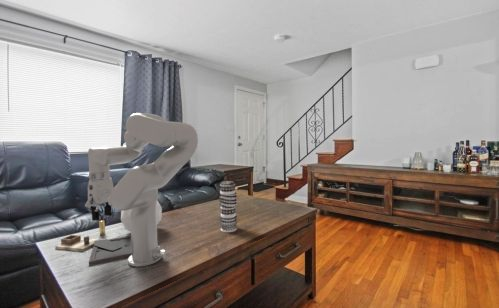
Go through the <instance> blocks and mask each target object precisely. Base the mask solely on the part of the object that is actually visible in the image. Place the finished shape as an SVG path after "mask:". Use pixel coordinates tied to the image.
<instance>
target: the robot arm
mask: <svg viewBox="0 0 499 308" xmlns="http://www.w3.org/2000/svg"><path fill="white" fill-rule="evenodd" d="M125 130H126V131H125V132H124V134H123V140H124V143H125V145H121V146H101V147H100V146H97V147H95V146H94V147H90V148H89V149H88V150H87V156H88V172H89V174H88V176H87V177H88V179H89V180H88V186H87V201H86V202H85V204H84V206H85V207H86V208H87V209H89V211H90V212H91V220H92V221H95V222H97V221H98V222H99V221H101V218H100V210H99V206H100V205H102V204H104V206H103V207H104V208H103V210H104V214H103V215H104V216H106V217H107V216H109V217H111V216H112V215H113V213H112V207H113V208H114V209H115V210H117V211H120V212H121V211H125V210H129V209H132V211H131V215H130V226H131V231H130V236H131V246H132V255H131V256H130V257H128V258H127V264H128V265H129V266H132V267H138V268H139V267H146V266H149V265H153V264H156V263H157V262H158V261H160V260H161V259H165V258H166V255H167V253H166V252H167V251H166V250H165V249H161V245H158V226H157V225H158V224H157V221H156V204H157V201H158V196H159V189H161V188H163V187H164V186H166V185H167V184H168V183H169V182H170V181H171V179H172V178H173V177H175V175H177V173H178V172H179V171H180V170H181V169H182V168H183V166H185V165H186V164H187V163H188V162H189V161H190V159H192V157H193V156H194V154H195V153H196V150H197V149H198V148H197V147H198V143H199V142H198V141H199V140H198V139H199V138H198V134H197V130H196V129H195V127H193V126H192V125H191V124H189V123H187V122H179V121H167V120H166V119H164V117H162V116H160V115H158V114H155V113H146V112H136V113H132V114H131V115H130V116H129V117H128V118H127V120H126V123H125ZM149 144H151V145H154V146H156V147H161V148H163V147H164V148H165V147H167V149H166V150H165V151H163V152H162V153H161V155H159V157H158V158H157V159H156V160H154V161H153V162H152V163H148V164H146V163H145V164H141V165H136V166H134V167H132V168H130V169H129V170H128V171H127V172H126V173H125V174H124V175H123V177H122V178H121V179H120V180H119V181H118V182H117V183H116V185H115V186H114V182H113V180H112V177H111V172H110V171H111V168H110V166H115V165H123V164H124V165H125V164H127V163H130V162H132V161H133V160H136V158H138V157H141V156H140V155H142V153H143V149H144V147H146V146H148V145H149Z"/></svg>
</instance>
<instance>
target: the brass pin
mask: <svg viewBox="0 0 499 308" xmlns="http://www.w3.org/2000/svg"><path fill="white" fill-rule="evenodd" d="M105 224H106V223H105V220H104V219H102V220H101V219H100V220H99V221H98V226H99V227H98V228H99V236H106V225H105Z"/></svg>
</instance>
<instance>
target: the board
mask: <svg viewBox="0 0 499 308" xmlns="http://www.w3.org/2000/svg"><path fill="white" fill-rule="evenodd" d="M98 240H102V239H101V238H90V236H88V235H87V236H84V237H81V235H80V234H79V235H77V234H71V235H68V236H65V237H63V238H61V239H60V242H61V243H60V244H57V245H55V247H54V248H55V250H61V251H62V250H64V251H74V252H82V253H83V252H86V251H87V250H89V249H91V248H93V245H94V241H98Z"/></svg>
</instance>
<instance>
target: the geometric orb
mask: <svg viewBox="0 0 499 308" xmlns="http://www.w3.org/2000/svg"><path fill="white" fill-rule="evenodd" d="M131 211H132V209H129V210H125V211H120V221H121V223H122V226H123V227H124V229H125V230H127V231H128V232H131V226H130V215H131ZM162 212H163V207H162V206H161V204H160V202H159V201H158V200H157V204H156V221H157V225H158V224H159V223H160V221H161V220H162Z"/></svg>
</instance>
